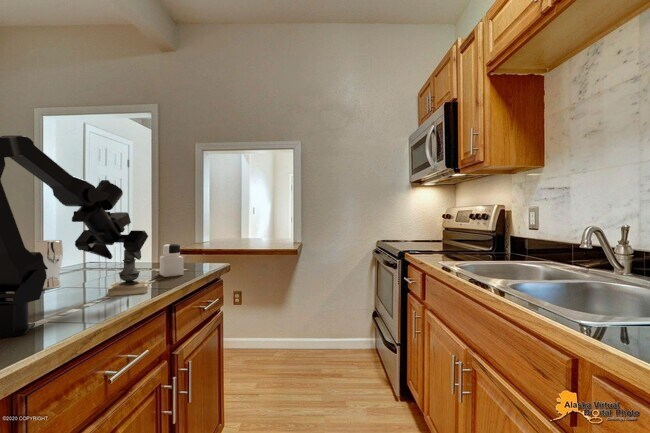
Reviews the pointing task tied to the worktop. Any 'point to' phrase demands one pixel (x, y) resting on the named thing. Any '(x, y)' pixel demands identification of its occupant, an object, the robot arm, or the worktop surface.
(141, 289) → the oak base
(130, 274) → the salt shaker
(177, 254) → the medicine bottle
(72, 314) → the worktop surface
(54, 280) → the beer glass
